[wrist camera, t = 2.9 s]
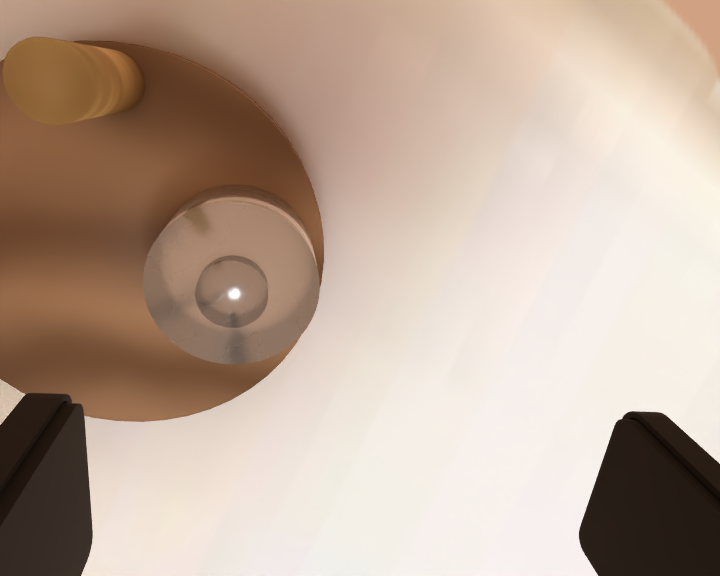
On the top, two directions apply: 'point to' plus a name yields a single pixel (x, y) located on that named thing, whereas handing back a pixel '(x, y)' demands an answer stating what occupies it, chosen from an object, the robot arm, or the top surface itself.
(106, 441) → the top surface
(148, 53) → the turntable
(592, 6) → the top surface
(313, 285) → the cover
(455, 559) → the top surface
